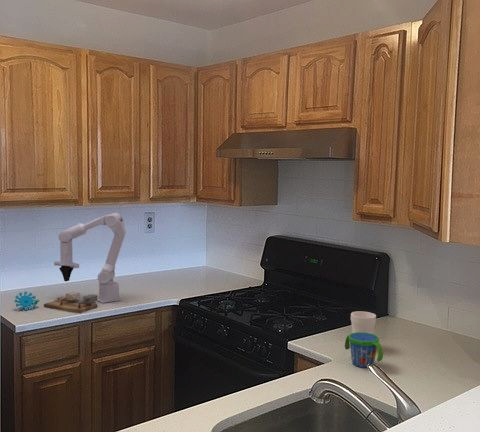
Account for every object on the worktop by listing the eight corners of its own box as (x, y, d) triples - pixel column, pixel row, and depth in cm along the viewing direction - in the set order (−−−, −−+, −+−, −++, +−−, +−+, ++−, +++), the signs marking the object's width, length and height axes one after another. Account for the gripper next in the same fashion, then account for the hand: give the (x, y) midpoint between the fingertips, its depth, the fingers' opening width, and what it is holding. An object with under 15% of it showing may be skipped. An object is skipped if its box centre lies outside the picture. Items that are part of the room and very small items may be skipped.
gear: (15, 309, 245) (14, 290, 251) (12, 315, 249) (12, 297, 255) (40, 309, 251) (39, 291, 257) (37, 315, 255) (36, 297, 261)
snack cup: (336, 359, 195) (337, 332, 194) (358, 354, 201) (359, 328, 200) (367, 374, 182) (368, 345, 181) (389, 369, 187) (391, 340, 186)
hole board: (61, 301, 266) (61, 297, 266) (97, 307, 257) (97, 303, 257) (43, 307, 255) (43, 303, 255) (80, 313, 246) (80, 309, 246)
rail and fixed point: (63, 298, 266) (63, 290, 266) (97, 303, 258) (97, 295, 257) (46, 303, 256) (46, 295, 256) (81, 309, 248) (81, 300, 247)
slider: (73, 298, 264) (73, 291, 263) (79, 299, 262) (79, 292, 262) (56, 303, 254) (56, 296, 253) (63, 305, 252) (63, 297, 252)
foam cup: (358, 341, 216) (360, 310, 214) (379, 347, 209) (380, 315, 208) (344, 346, 209) (346, 314, 208) (365, 353, 202) (366, 319, 201)
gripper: (49, 253, 267) (49, 280, 269) (72, 256, 261) (72, 284, 263) (59, 251, 274) (59, 278, 275) (82, 254, 268) (82, 281, 269)
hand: (66, 280), depth 269 cm, fingers closed
